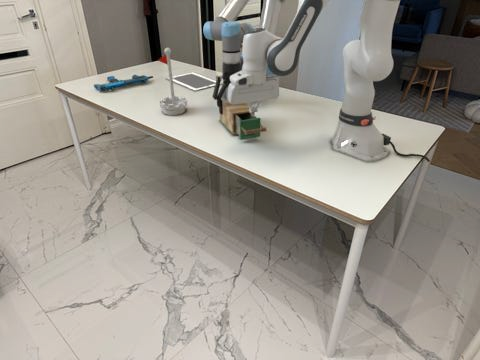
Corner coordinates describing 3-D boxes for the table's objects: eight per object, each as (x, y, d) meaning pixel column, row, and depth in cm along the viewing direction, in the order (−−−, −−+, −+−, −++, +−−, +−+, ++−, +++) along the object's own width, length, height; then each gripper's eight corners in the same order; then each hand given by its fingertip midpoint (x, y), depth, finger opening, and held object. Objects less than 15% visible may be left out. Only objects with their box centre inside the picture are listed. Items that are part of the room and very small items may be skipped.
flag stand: (184, 104, 177) (178, 43, 160) (190, 113, 167) (184, 49, 150) (159, 107, 173) (150, 46, 156) (163, 117, 163) (155, 52, 146)
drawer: (266, 142, 138) (266, 123, 133) (245, 145, 135) (245, 127, 131) (245, 122, 155) (245, 105, 151) (227, 125, 152) (226, 108, 148)
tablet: (166, 78, 215) (166, 78, 215) (192, 72, 226) (192, 72, 226) (195, 91, 195) (194, 90, 195) (222, 83, 206) (222, 83, 206)
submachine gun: (139, 69, 223) (157, 75, 206) (140, 75, 225) (158, 81, 208) (86, 79, 204) (101, 87, 188) (88, 85, 206) (103, 94, 190)
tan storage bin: (254, 131, 149) (254, 109, 144) (232, 135, 146) (232, 113, 141) (240, 117, 162) (239, 97, 157) (219, 120, 159) (219, 100, 154)
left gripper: (252, 57, 150) (251, 105, 162) (203, 62, 143) (206, 112, 155) (259, 61, 144) (258, 111, 156) (208, 66, 137) (211, 118, 149)
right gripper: (275, 71, 130) (273, 105, 138) (225, 76, 124) (226, 112, 131) (283, 75, 125) (281, 111, 133) (231, 81, 119) (232, 118, 126)
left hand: (232, 111), depth 156 cm, fingers open, 10 cm apart
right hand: (253, 111), depth 132 cm, fingers closed
